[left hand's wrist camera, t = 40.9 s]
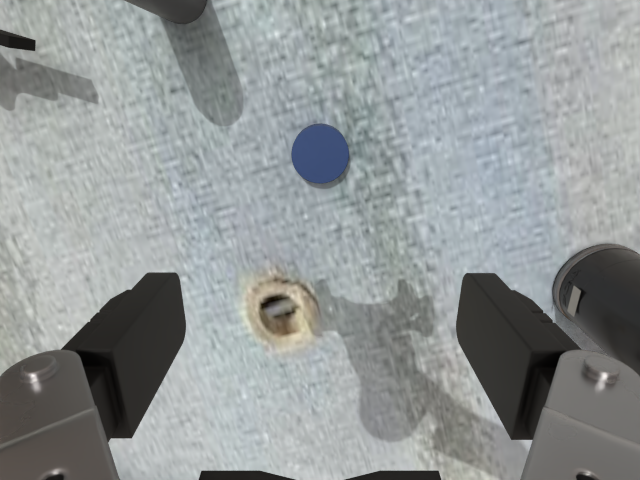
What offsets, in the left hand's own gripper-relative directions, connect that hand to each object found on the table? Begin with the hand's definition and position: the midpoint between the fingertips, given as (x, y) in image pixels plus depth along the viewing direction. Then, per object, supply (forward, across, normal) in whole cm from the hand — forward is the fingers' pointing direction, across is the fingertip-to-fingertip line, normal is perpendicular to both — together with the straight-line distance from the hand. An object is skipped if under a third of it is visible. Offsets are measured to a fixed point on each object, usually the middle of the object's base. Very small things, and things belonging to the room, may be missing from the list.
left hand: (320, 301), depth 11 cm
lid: (+27, 0, 0) cm, 27 cm away
